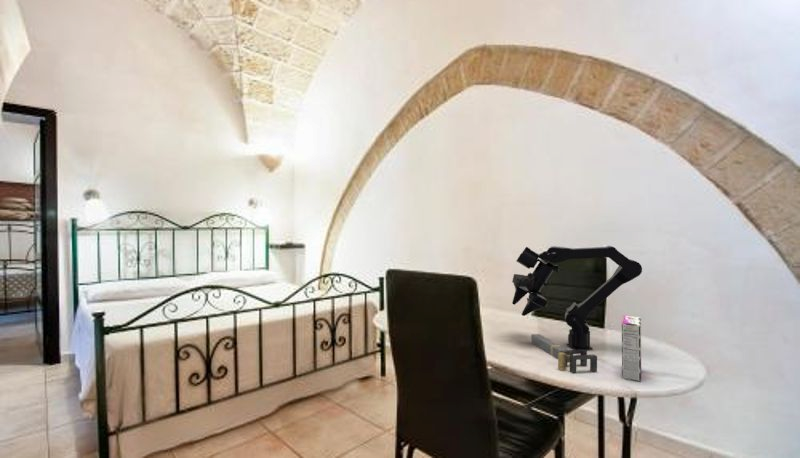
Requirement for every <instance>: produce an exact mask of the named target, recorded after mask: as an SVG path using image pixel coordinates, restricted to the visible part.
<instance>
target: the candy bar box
mask: <svg viewBox="0 0 800 458" xmlns="http://www.w3.org/2000/svg"><path fill="white" fill-rule="evenodd" d="M622 316H623V317H622V322H621V362H622V363H621V374H622V375H621V379H623V378H624V379H623V380H628V379H630V381H634V380H635V381H636V382H641V381H642V317H641V316H631V315H622ZM635 381H634V382H635Z"/></svg>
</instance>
